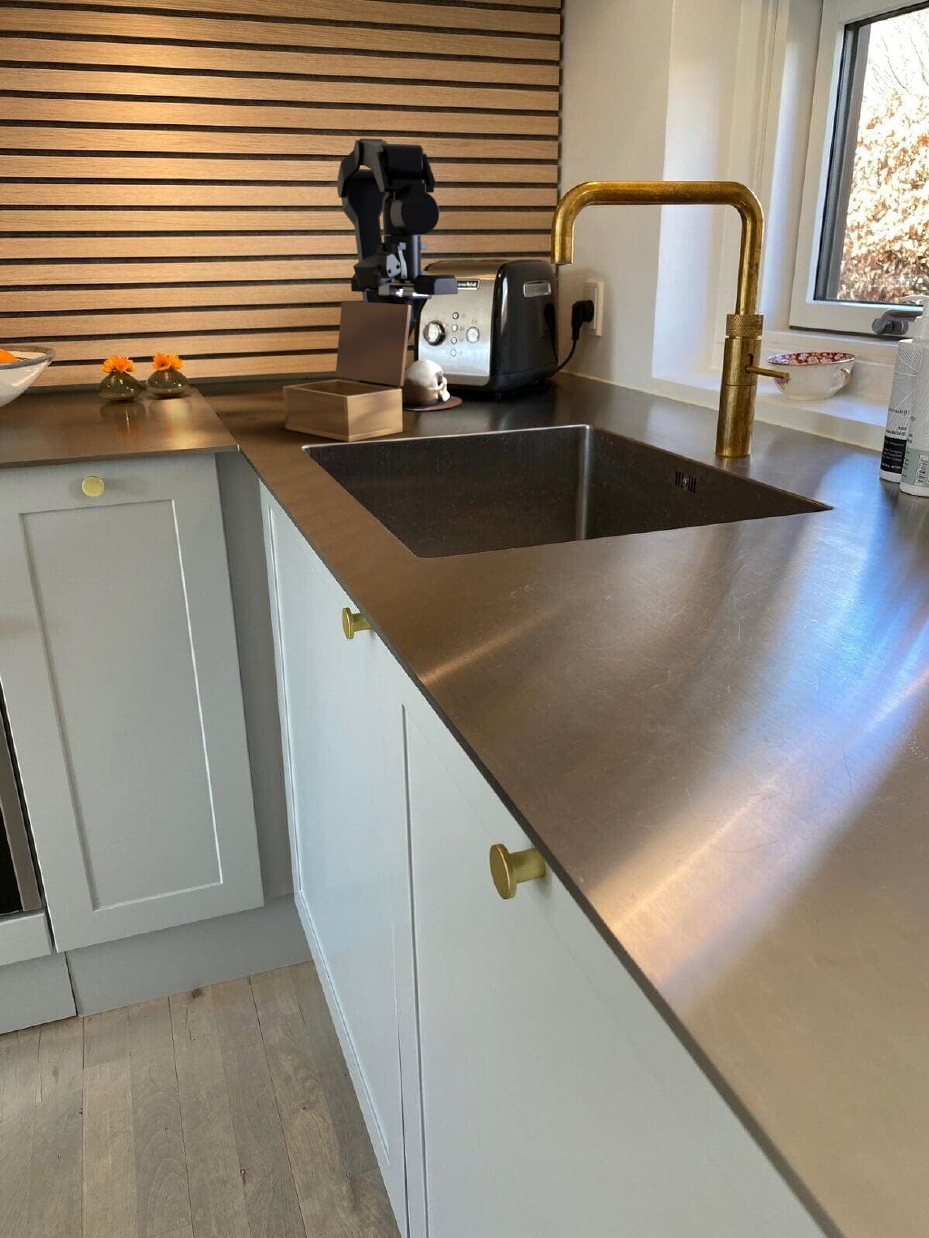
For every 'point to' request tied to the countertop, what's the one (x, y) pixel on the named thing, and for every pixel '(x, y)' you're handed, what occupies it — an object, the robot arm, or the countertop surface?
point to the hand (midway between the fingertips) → (404, 341)
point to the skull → (426, 388)
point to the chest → (343, 409)
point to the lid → (373, 342)
